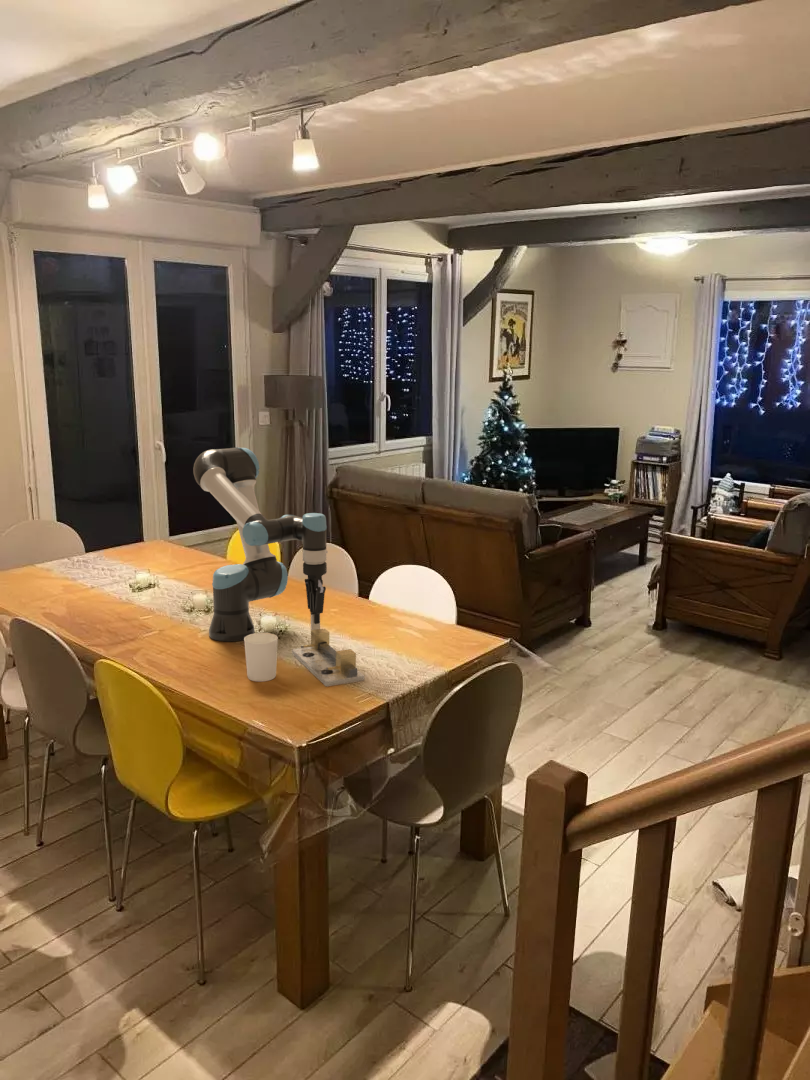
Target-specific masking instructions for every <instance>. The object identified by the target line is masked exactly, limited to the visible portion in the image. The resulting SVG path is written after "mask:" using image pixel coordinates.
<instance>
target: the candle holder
mask: <svg viewBox="0 0 810 1080" xmlns="http://www.w3.org/2000/svg"><path fill="white" fill-rule="evenodd" d="M278 640H279V637H278V635H277V634H274V633H269V632H256V633H254V634H250V635H247V636H246V637H245V638H244V640H243V641H244V653H245V664H246V678H247V679H248V680H249V681H253V682H260V683H261V682H269V681H272V680H273V679H276V676H277V663H278V660H277V659H278Z"/></svg>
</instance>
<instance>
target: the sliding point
mask: <svg viewBox="0 0 810 1080" xmlns="http://www.w3.org/2000/svg"><path fill="white" fill-rule="evenodd" d="M319 642H326V643H327V644H328V645H330V631H329V630H327V629H326V628H320V629H317V630H311V629H310V644H303V645H300V648H306V647H314V648H315V649H318V643H319Z"/></svg>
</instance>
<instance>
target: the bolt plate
mask: <svg viewBox="0 0 810 1080" xmlns="http://www.w3.org/2000/svg"><path fill="white" fill-rule="evenodd" d="M291 654H292V655H293V656H294V657H295V658H296V660H298V661H299V662H300V663H301V664H302V665H303V666H304V667H305V668H306V669H307V671H309V672H310V673H311V674H312V675H313V676H314V677H316V678H317V680H318V681H320V683H322V684H323V686H324V687H331V686H338V685H344V684H350V683H356V682H363V681H365V674H363V673H362V671H360V670H358V668H357V665H356V663H357V652H356V651H354V650H353V649H351V648H350V649H342V650H341V649H340V650H336V649H335V648H333V647H332V646H331V645H330V644H329V645H328V644H327V643H326V642H319V643H318V649H315V648H314V647H306V648H301V647H300V648H299V647H298V648H292V649H291Z"/></svg>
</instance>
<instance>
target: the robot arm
mask: <svg viewBox="0 0 810 1080" xmlns="http://www.w3.org/2000/svg"><path fill="white" fill-rule="evenodd" d="M259 470H260V463H259V460H258V457H257V455H256V454H255V452H253V451H252V450H251V449H249V448H247V447H239V446H238V447H230V448H216V449H215V448H214V449H213V448H212V449H211V448H210V449H208V450H205V451H202V453H200V454H199V455H198V456H197V457H196V459H195V461H194V463H193V471H192V472H193V476H194V480H195V482H196V483H197V485H199V487H200V488H201V489H202V490H203V491H204V492H208V493H210V494H211V495H212V496H213V497H214V499H215V500H216V501H217V502H218V503H219V504H220V505H221V506H222V508H224V509H225V510H226V511H227V512H228V513H229V514H230V516H231V517H232V518H233V519H234V520H235V521H236V525H237V528H238V533H239V536H240V537H239V538H240V540H241V544H242V548H243V552H244V556H245V560H244V562H243V563H242V564H241V563H238V564H237V563H235V564H227V565H224V566H220V567H219V568H216V570H215V571H213V572H214V573H213V574H212V584H211V585H212V596H213V597H212V598H213V616H212V618H211V621H210V625H209V628H208V636H209V638H211V639H212V640H214V641H217V642H218V641H219V642H237V641H238V642H239V641H244V638H245V637H246V636H247V635H250V634H254V633H255V626H254V623H253V620H252V617H251V614H250V602H255V601H258V600H259V601H260V600H263V599H267V598H268V599H269V598H270V599H271V598H274V597H275V596H276V597H277V596H279V595H281V594H282V593H283V592H284V591H285V590H286V589H287V585H288V582H289V581H288V580H289V579H288V578H289V577H288V576H289V575H288V571H287V567H286V565H284V563H283V562H280V561H278V559H277V555H275V554H273V553H272V552H271V550H270V547H269V544H273V543H274V544H275V543H281V542H289V541H300V542H302V561H303V563H302V573H303V574H304V575H305V576H307V578H305V579H304V583H305V592H306V602H307V609H308V610H309V612H310V631H311V630H317V629H321V614H323V612H324V605H325V594H326V590H327V588H326V586H323V585H324V581H323V575H326V574H327V570H328V569H327V565H328V564H327V554H328V550H327V528H328V526H327V517H326V515H325V514H323V513H321V512H319V513H317V512H309V513H305V514H303V515H302V517H301V516H298V515H294V514H284V515H282V516H281V517H279V518H273V519H272V518H271V519H268V518H266V517H265V516H264V515H263V514H262V513H261V512H260V509H259V508H260V507H259V504H258V500H257V497H256V492H255V488H254V487H255V485H256V483H257V478H258V476H259V474H260V471H259Z"/></svg>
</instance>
